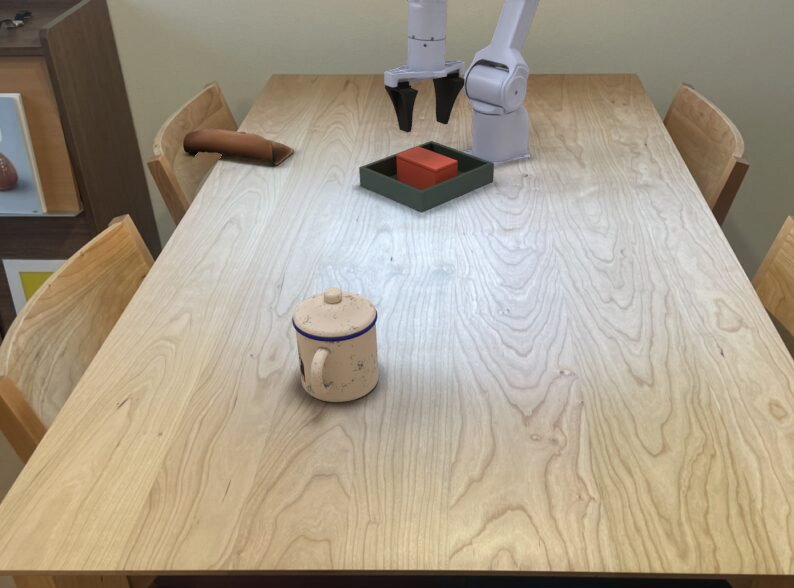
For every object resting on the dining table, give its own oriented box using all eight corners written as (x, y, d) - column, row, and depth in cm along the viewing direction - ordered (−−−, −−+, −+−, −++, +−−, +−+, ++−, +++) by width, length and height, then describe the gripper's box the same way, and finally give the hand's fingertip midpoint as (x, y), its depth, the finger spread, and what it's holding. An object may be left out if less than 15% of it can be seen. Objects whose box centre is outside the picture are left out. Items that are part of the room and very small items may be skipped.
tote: (431, 161, 153) (431, 140, 151) (493, 184, 144) (494, 163, 142) (360, 188, 143) (358, 167, 141) (422, 215, 135) (421, 192, 133)
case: (418, 171, 148) (418, 146, 145) (457, 186, 142) (457, 160, 140) (397, 180, 145) (396, 154, 142) (435, 196, 139) (435, 169, 137)
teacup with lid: (315, 353, 103) (305, 266, 97) (389, 362, 102) (385, 274, 95) (278, 416, 94) (265, 323, 87) (360, 426, 92) (353, 333, 86)
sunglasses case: (297, 147, 156) (284, 122, 151) (283, 179, 154) (270, 155, 148) (208, 136, 161) (193, 111, 155) (193, 166, 159) (177, 143, 153)
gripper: (406, 47, 124) (404, 141, 131) (480, 36, 133) (474, 125, 140) (375, 37, 129) (375, 129, 136) (449, 28, 137) (445, 114, 144)
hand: (423, 126), depth 138 cm, fingers open, 7 cm apart
